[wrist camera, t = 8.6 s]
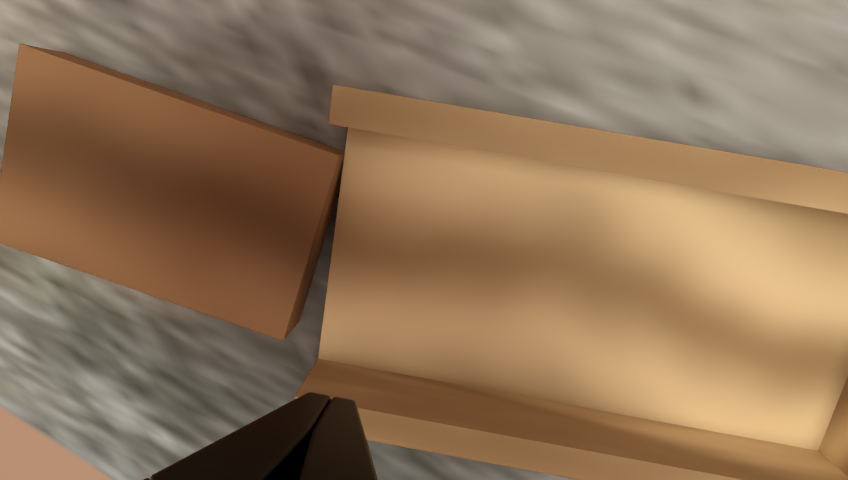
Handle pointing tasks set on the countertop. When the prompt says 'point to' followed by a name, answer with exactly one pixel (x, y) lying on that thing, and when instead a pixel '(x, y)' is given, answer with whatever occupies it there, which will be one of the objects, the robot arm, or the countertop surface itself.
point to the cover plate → (164, 192)
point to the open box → (584, 298)
